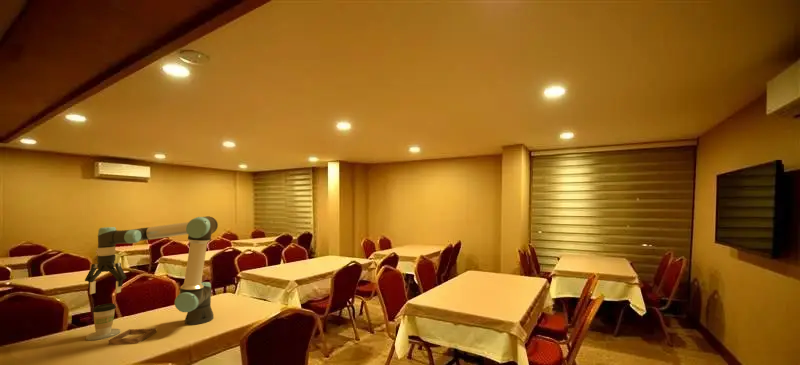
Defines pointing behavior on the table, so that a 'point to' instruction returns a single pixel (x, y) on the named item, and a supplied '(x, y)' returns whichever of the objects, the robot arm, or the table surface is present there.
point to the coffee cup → (103, 318)
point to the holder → (119, 337)
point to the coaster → (95, 337)
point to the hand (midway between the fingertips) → (105, 293)
